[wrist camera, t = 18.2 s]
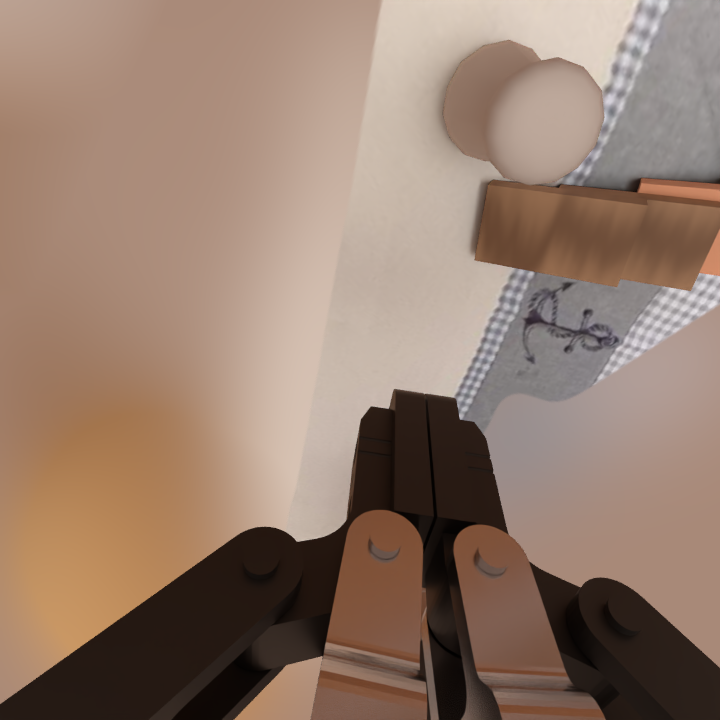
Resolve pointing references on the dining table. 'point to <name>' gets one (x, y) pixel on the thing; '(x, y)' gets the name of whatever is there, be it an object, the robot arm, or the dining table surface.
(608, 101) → the dining table surface
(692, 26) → the dining table surface
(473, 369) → the dining table surface
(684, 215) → the domino
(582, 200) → the domino
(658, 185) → the domino
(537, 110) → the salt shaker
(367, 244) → the dining table surface
